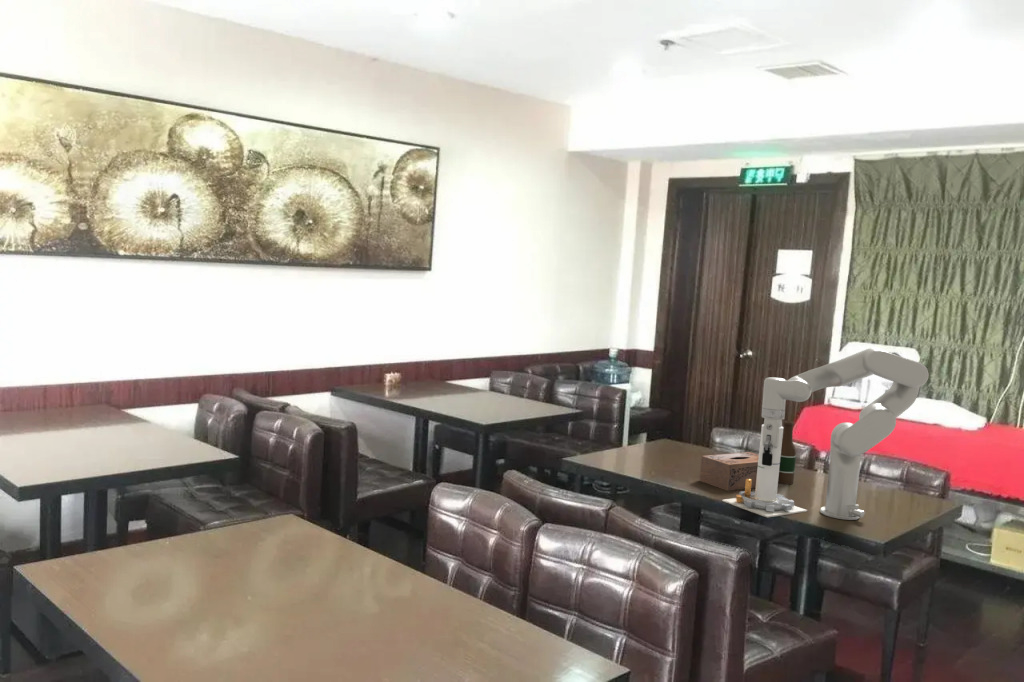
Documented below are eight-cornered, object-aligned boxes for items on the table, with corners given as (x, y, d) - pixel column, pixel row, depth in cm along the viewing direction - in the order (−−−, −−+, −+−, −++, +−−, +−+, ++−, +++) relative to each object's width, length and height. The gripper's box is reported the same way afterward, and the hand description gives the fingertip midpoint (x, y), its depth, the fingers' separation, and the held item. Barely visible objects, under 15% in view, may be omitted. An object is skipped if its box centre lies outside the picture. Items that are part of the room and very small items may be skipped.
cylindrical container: (772, 501, 280) (780, 429, 278) (752, 497, 284) (759, 425, 281) (778, 497, 286) (785, 426, 284) (758, 493, 290) (765, 423, 287)
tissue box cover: (747, 476, 329) (749, 452, 328) (775, 485, 317) (777, 460, 316) (699, 481, 316) (701, 455, 315) (727, 491, 303) (729, 464, 303)
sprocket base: (807, 511, 282) (807, 510, 282) (767, 517, 271) (767, 516, 271) (761, 495, 299) (761, 494, 299) (722, 501, 288) (722, 499, 288)
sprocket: (786, 498, 293) (788, 476, 293) (799, 514, 274) (801, 490, 274) (731, 493, 295) (733, 472, 295) (740, 508, 276) (742, 485, 276)
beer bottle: (771, 478, 327) (777, 419, 325) (792, 480, 326) (797, 420, 324) (773, 483, 320) (779, 422, 317) (794, 485, 318) (800, 424, 316)
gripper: (779, 418, 273) (776, 469, 274) (788, 411, 288) (785, 459, 289) (756, 415, 276) (753, 465, 278) (766, 409, 291) (763, 456, 293)
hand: (769, 462), depth 284 cm, fingers open, 9 cm apart
